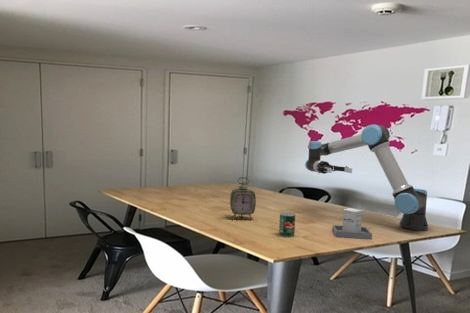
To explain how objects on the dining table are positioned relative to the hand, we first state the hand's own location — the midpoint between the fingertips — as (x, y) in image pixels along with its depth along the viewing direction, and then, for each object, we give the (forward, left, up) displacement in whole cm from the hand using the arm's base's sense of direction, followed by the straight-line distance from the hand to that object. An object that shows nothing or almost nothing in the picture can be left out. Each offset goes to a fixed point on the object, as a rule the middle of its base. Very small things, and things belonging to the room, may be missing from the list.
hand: (341, 170), depth 233 cm
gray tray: (-4, +19, -32) cm, 37 cm away
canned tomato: (+30, +29, -32) cm, 53 cm away
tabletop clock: (+56, -3, -32) cm, 65 cm away
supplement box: (-4, +19, -31) cm, 37 cm away
